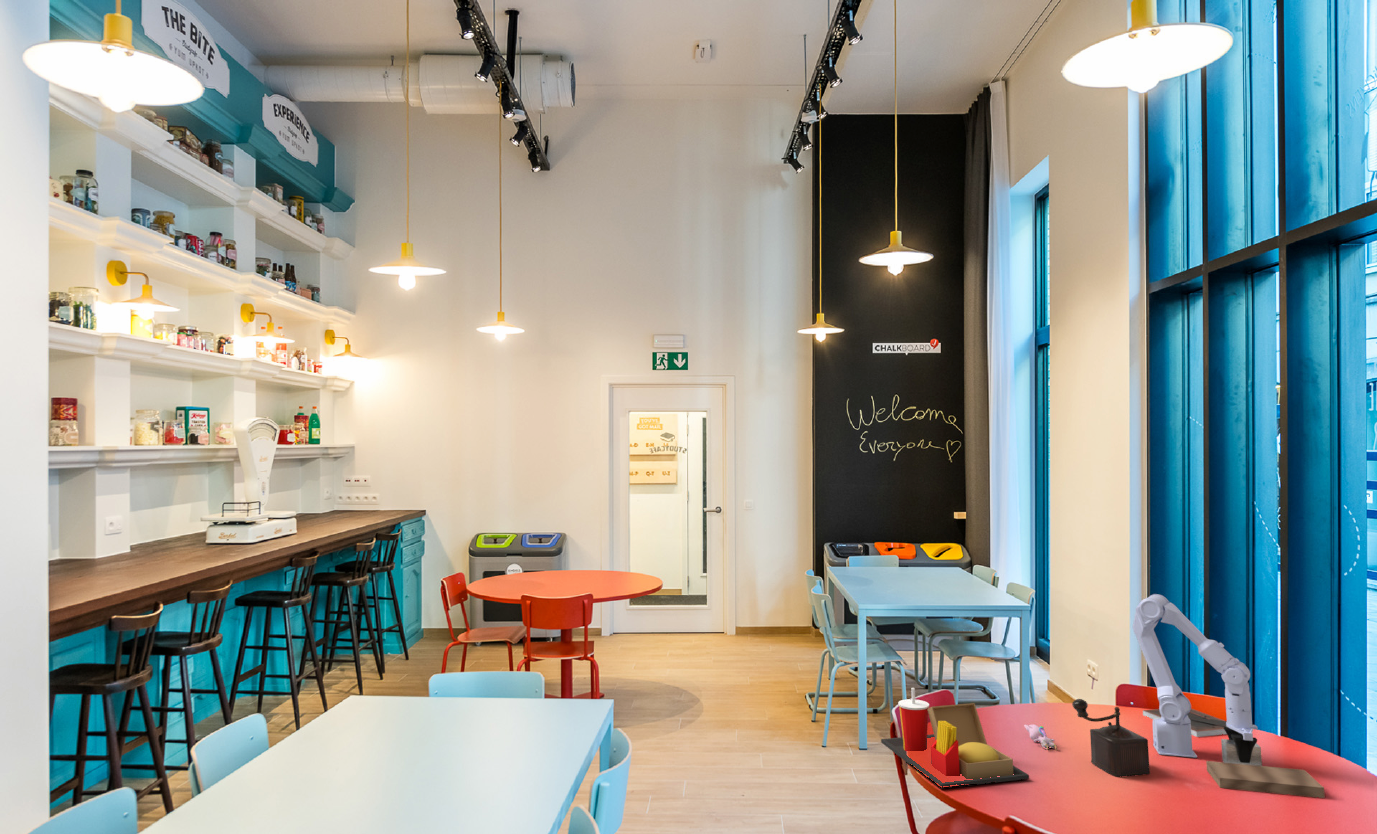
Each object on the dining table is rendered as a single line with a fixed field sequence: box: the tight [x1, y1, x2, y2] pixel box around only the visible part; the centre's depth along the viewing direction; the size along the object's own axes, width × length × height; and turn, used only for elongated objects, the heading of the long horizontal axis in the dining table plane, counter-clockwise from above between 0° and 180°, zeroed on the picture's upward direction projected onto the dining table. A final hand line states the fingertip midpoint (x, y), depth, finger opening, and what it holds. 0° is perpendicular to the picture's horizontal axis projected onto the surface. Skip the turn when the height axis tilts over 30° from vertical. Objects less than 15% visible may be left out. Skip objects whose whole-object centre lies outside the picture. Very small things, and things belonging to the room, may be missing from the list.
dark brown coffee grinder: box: [1071, 698, 1151, 778], centre depth 215 cm, size 16×11×18 cm
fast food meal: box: [880, 687, 1030, 787], centre depth 222 cm, size 26×35×18 cm
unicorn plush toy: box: [1023, 724, 1058, 750], centre depth 235 cm, size 6×6×15 cm
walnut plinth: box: [1206, 760, 1326, 799], centre depth 202 cm, size 22×12×2 cm, turn 70°
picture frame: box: [1142, 708, 1227, 738], centre depth 249 cm, size 16×2×22 cm
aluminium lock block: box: [1220, 738, 1263, 766], centre depth 215 cm, size 8×4×6 cm, turn 70°
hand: (1241, 758), depth 215 cm, fingers closed on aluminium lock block, 4 cm apart
